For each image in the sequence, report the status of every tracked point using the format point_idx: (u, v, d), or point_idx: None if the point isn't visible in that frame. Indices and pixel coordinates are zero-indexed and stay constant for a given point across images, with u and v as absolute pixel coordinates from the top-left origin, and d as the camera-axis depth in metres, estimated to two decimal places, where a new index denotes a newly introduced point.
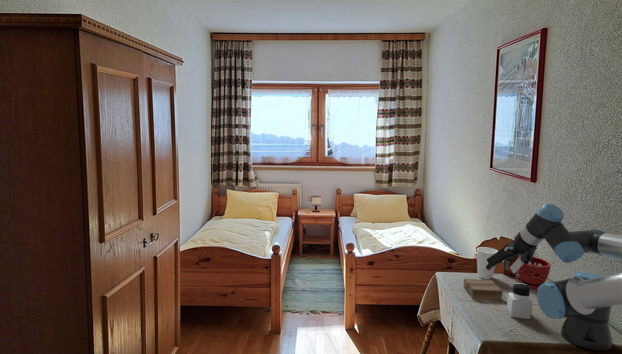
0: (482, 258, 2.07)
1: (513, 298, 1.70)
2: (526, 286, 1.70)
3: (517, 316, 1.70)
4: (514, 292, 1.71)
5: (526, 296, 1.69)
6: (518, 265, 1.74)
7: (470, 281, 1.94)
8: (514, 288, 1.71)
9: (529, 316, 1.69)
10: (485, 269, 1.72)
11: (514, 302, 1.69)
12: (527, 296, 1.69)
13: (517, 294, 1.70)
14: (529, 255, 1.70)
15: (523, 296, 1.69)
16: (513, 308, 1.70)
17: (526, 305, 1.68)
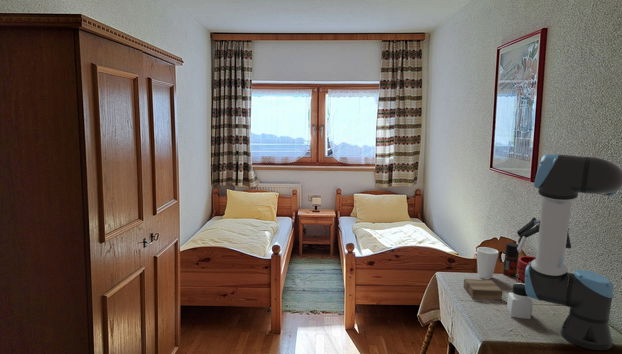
0: (482, 258, 2.07)
1: (513, 298, 1.70)
2: None
3: (517, 316, 1.70)
4: (514, 292, 1.71)
5: (526, 296, 1.69)
6: None
7: (470, 281, 1.94)
8: (514, 288, 1.71)
9: (529, 316, 1.69)
10: None
11: (514, 302, 1.69)
12: (527, 296, 1.69)
13: (517, 294, 1.70)
14: None
15: (523, 296, 1.69)
16: (513, 308, 1.70)
17: (526, 305, 1.68)
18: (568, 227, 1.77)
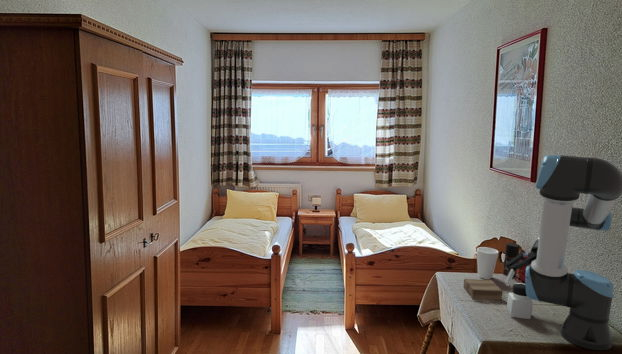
0: (482, 258, 2.07)
1: (513, 298, 1.70)
2: None
3: (517, 316, 1.70)
4: (514, 292, 1.71)
5: (526, 296, 1.69)
6: None
7: (470, 281, 1.94)
8: (514, 288, 1.71)
9: (529, 316, 1.69)
10: None
11: (514, 302, 1.69)
12: (527, 296, 1.69)
13: (517, 294, 1.70)
14: None
15: (523, 296, 1.69)
16: (513, 308, 1.70)
17: (526, 305, 1.68)
18: None
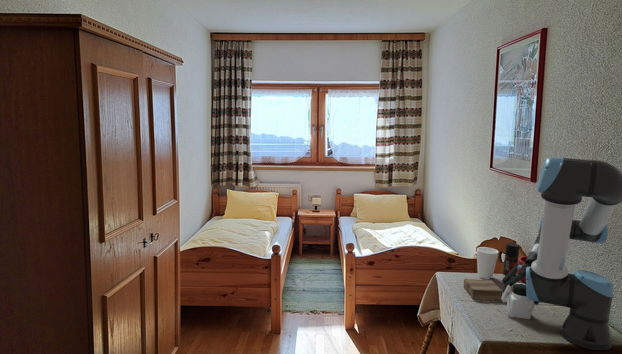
0: (482, 258, 2.07)
1: (513, 298, 1.70)
2: None
3: (517, 316, 1.70)
4: (514, 292, 1.71)
5: (526, 296, 1.69)
6: None
7: (470, 281, 1.94)
8: (514, 288, 1.71)
9: (529, 316, 1.69)
10: None
11: (514, 302, 1.69)
12: None
13: (517, 294, 1.70)
14: None
15: (523, 296, 1.69)
16: (513, 308, 1.70)
17: (526, 305, 1.68)
18: None
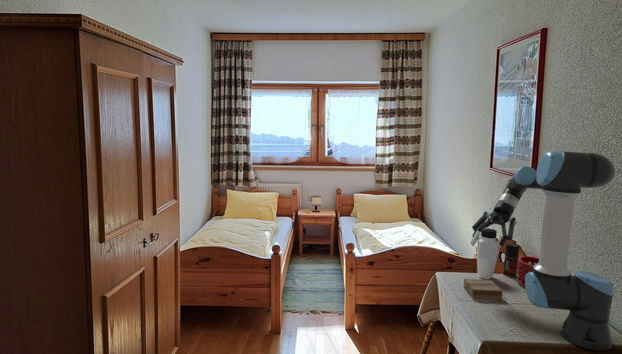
0: (482, 258, 2.07)
1: (481, 241, 1.86)
2: (493, 230, 1.86)
3: (484, 257, 1.86)
4: (482, 235, 1.87)
5: (492, 238, 1.85)
6: None
7: (470, 281, 1.94)
8: (482, 232, 1.87)
9: (495, 257, 1.85)
10: None
11: (482, 244, 1.85)
12: (493, 238, 1.85)
13: (484, 237, 1.86)
14: None
15: (490, 238, 1.85)
16: (481, 250, 1.85)
17: (493, 247, 1.84)
18: (515, 220, 1.87)
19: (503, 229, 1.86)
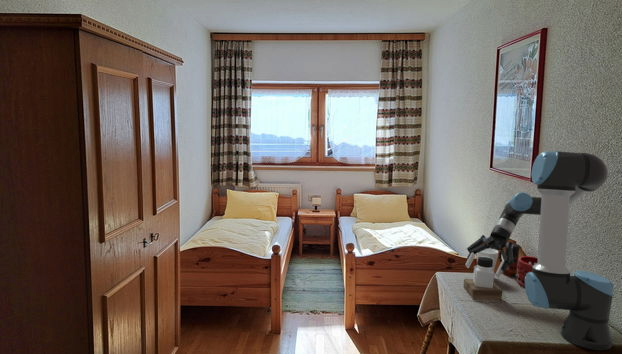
0: None
1: (477, 269, 1.88)
2: (489, 259, 1.88)
3: (481, 286, 1.88)
4: (478, 264, 1.89)
5: (489, 267, 1.87)
6: None
7: (470, 281, 1.94)
8: (478, 260, 1.89)
9: (491, 285, 1.87)
10: None
11: (478, 273, 1.87)
12: (490, 267, 1.87)
13: (481, 266, 1.88)
14: None
15: (486, 267, 1.87)
16: (477, 278, 1.88)
17: (489, 276, 1.86)
18: (512, 245, 1.89)
19: (503, 254, 1.87)
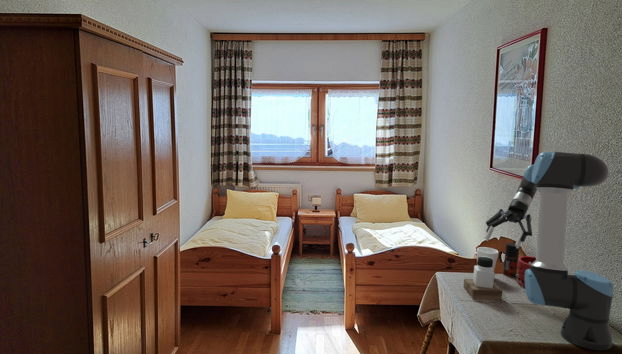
0: None
1: (477, 269, 1.88)
2: (489, 259, 1.88)
3: (481, 286, 1.88)
4: (478, 264, 1.89)
5: (489, 267, 1.87)
6: None
7: (470, 281, 1.94)
8: (478, 260, 1.89)
9: (491, 285, 1.87)
10: None
11: (478, 273, 1.87)
12: (490, 267, 1.87)
13: (481, 266, 1.88)
14: (527, 226, 1.92)
15: (486, 267, 1.87)
16: (477, 278, 1.88)
17: (489, 276, 1.86)
18: (530, 217, 1.95)
19: (521, 226, 1.93)
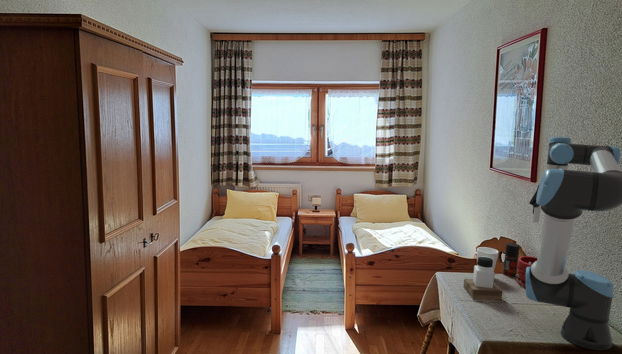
0: None
1: (477, 269, 1.88)
2: (489, 259, 1.88)
3: (481, 286, 1.88)
4: (478, 264, 1.89)
5: (489, 267, 1.87)
6: None
7: (470, 281, 1.94)
8: (478, 260, 1.89)
9: (491, 285, 1.87)
10: None
11: (478, 273, 1.87)
12: (490, 267, 1.87)
13: (481, 266, 1.88)
14: None
15: (486, 267, 1.87)
16: (477, 278, 1.88)
17: (489, 276, 1.86)
18: None
19: None
